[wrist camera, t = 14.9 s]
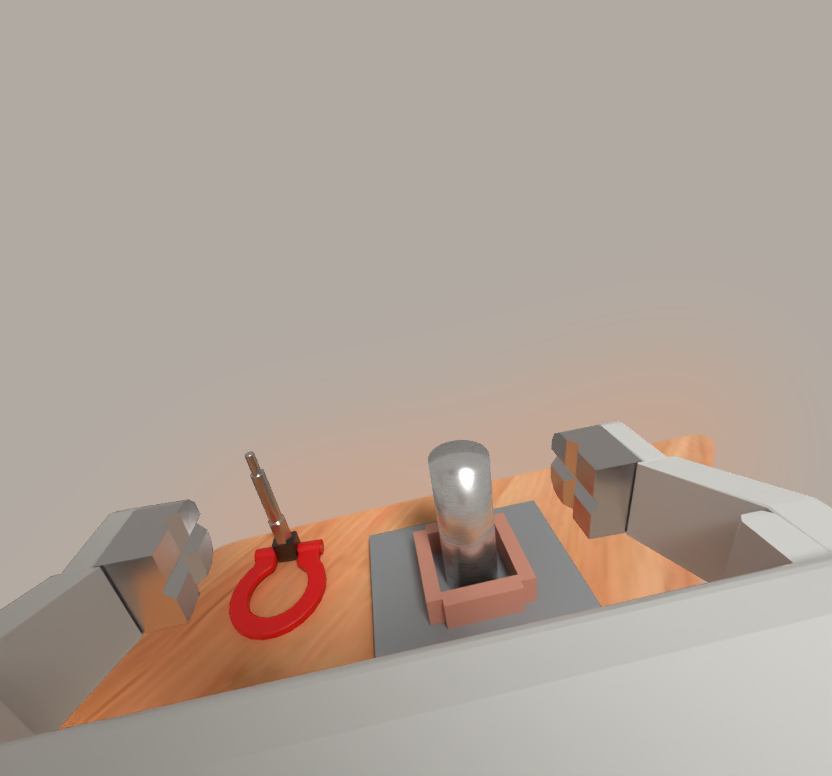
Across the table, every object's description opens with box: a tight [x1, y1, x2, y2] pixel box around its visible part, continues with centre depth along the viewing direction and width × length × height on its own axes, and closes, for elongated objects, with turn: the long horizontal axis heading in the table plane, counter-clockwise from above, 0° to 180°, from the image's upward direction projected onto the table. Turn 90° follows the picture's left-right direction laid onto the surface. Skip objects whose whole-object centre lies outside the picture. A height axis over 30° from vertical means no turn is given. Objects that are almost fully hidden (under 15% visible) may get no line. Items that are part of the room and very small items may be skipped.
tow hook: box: [229, 452, 326, 640], centre depth 34 cm, size 8×13×9 cm
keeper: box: [369, 500, 602, 658], centre depth 33 cm, size 17×14×4 cm
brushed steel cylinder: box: [428, 440, 498, 590], centre depth 31 cm, size 4×4×12 cm
